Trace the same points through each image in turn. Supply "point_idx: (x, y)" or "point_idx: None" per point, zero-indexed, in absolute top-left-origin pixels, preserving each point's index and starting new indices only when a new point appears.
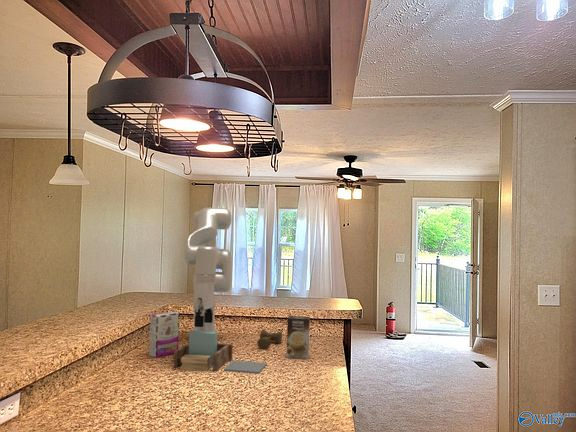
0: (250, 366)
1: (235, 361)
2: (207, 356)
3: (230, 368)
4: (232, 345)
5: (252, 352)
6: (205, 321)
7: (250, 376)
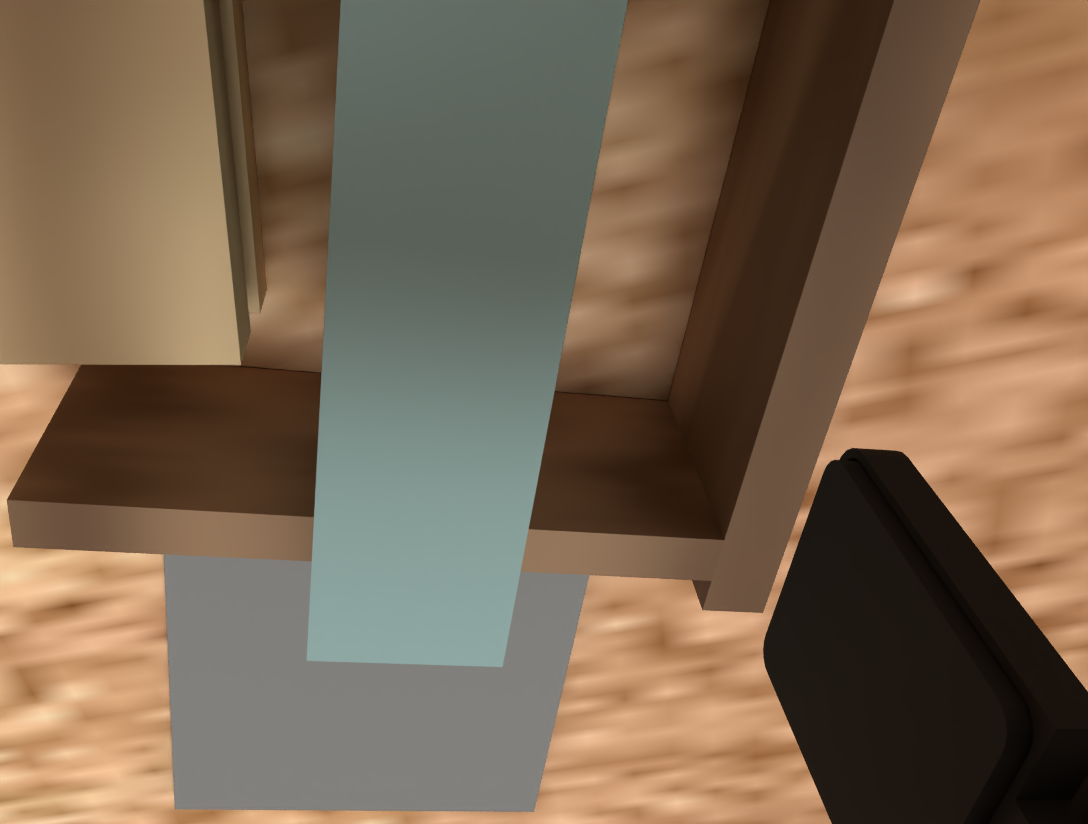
0: (363, 713)
1: None
2: (180, 326)
3: None
4: (747, 602)
5: (1065, 605)
6: (829, 505)
7: (48, 748)
